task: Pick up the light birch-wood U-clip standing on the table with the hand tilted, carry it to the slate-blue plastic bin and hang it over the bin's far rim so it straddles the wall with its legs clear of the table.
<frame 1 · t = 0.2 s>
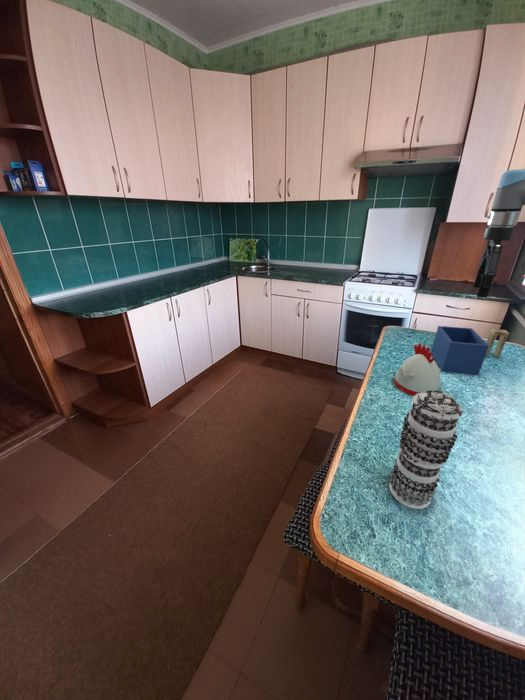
hand: (479, 292, 102), 28 cm above the table, tool pointing down, fingers open, 13 cm apart
wood clip: (490, 355, 118), on the table
lemon: (441, 343, 130), on the table
blue bin: (452, 362, 114), on the table
kitchen timer: (415, 385, 100), on the table
decorative candle: (409, 491, 64), on the table
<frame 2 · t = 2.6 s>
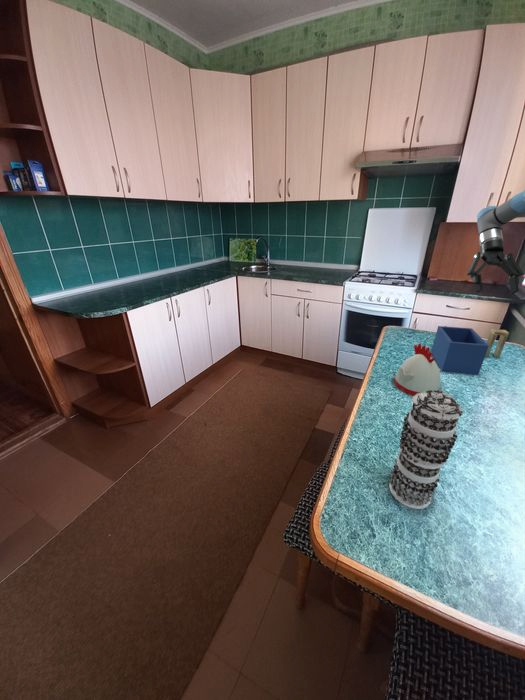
hand: (497, 291, 115), 24 cm above the table, tool tilted 40°, fingers open, 13 cm apart
nothing on the table moved.
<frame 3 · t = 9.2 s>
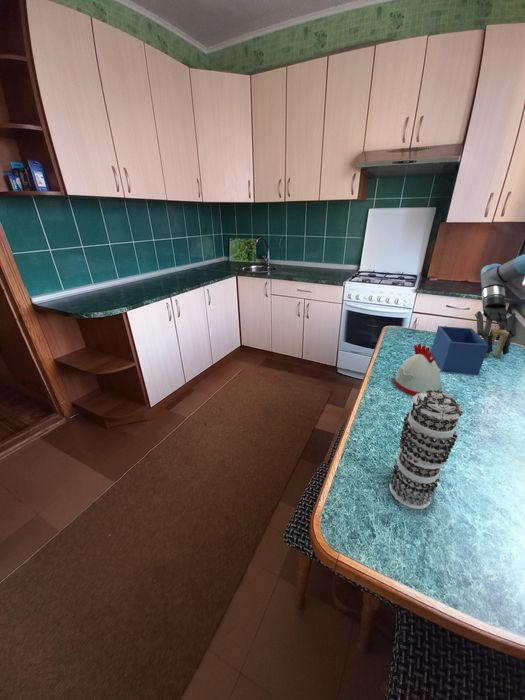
hand: (497, 352, 113), 3 cm above the table, tool tilted 45°, fingers closed on wood clip, 5 cm apart
wood clip: (490, 355, 118), on the table, touching gripper
everything else where it was.
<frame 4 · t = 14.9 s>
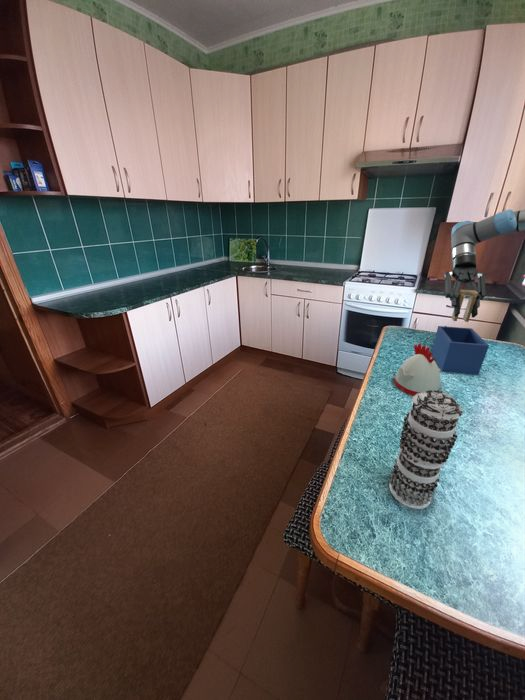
hand: (465, 315, 103), 20 cm above the table, tool tilted 45°, fingers closed on wood clip, 5 cm apart
wood clip: (459, 320, 108), point 17 cm above the table, touching gripper
everything else where it was.
when the fingers open (5 cm above the table, at t = 21.0 s): wood clip stays where it is, resting on blue bin.
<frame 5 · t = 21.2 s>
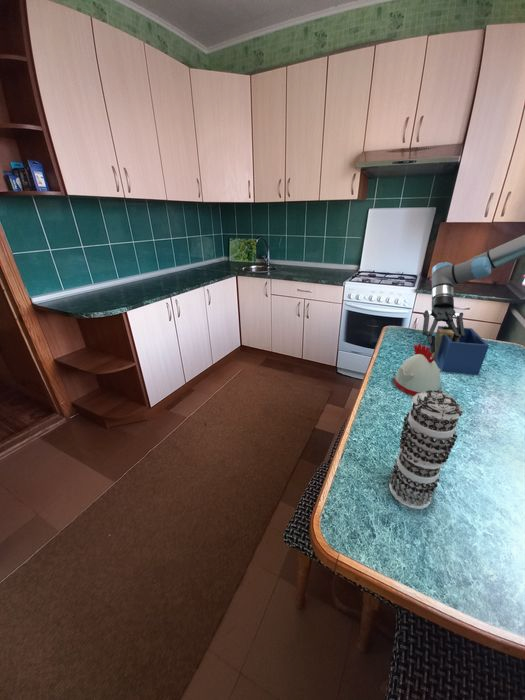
hand: (443, 353, 109), 5 cm above the table, tool tilted 45°, fingers open, 7 cm apart
wood clip: (438, 356, 114), point 2 cm above the table, touching blue bin
everything else where it was.
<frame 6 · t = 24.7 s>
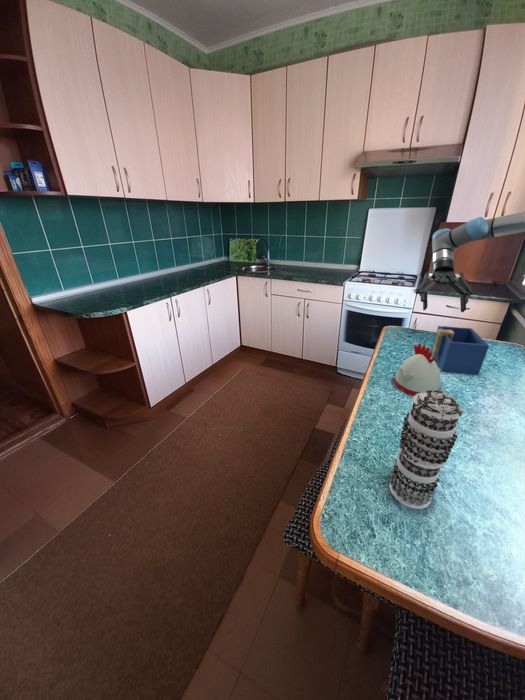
hand: (444, 309, 114), 18 cm above the table, tool tilted 45°, fingers open, 13 cm apart
nothing on the table moved.
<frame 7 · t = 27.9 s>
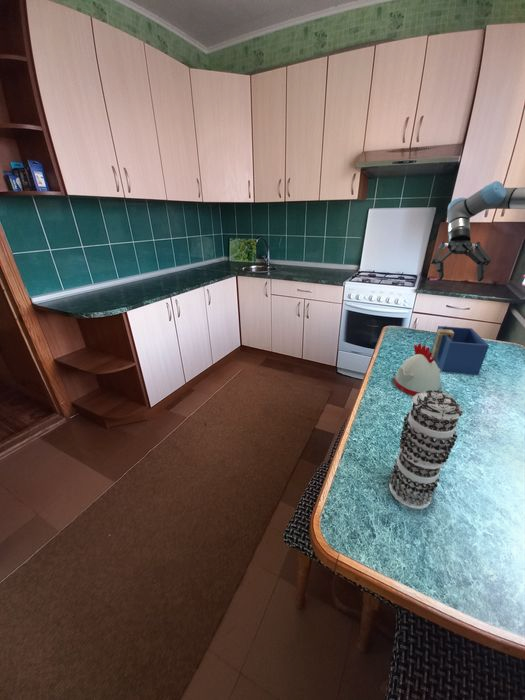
hand: (460, 279, 112), 30 cm above the table, tool tilted 45°, fingers open, 13 cm apart
nothing on the table moved.
at the end: wood clip 0.1 cm from the target spot in the blue bin, point 2.0 cm above the blue bin's base; wood clip touching blue bin; the gripper is holding nothing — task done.
